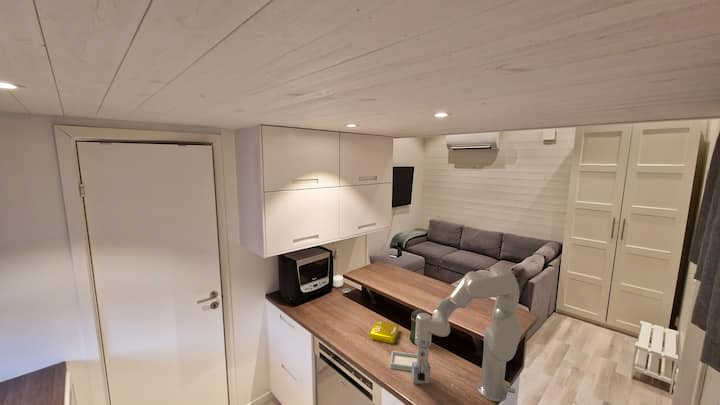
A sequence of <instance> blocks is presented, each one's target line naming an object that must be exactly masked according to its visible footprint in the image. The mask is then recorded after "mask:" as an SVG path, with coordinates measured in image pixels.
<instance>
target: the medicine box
mask: <svg viewBox="0 0 720 405" xmlns="http://www.w3.org/2000/svg"><path fill="white" fill-rule="evenodd" d="M420 366H421V364H420ZM420 370H421V367H420ZM418 372H419V367H418V365H417V362H412V371H411V379H412V382H413V384H430V383H431V365H430V363H429V362H428V368H425V381H420V380H418Z"/></svg>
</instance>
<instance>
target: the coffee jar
mask: <svg viewBox="0 0 720 405" xmlns="http://www.w3.org/2000/svg"><path fill="white" fill-rule="evenodd" d="M420 313H427V314H429V313H428V311H427V310H426V309H423V308H418V309H415V310H413V311H412V312H411V315H410V316H411V317H410V318H411V326H410V335H409V340H410V342H411V343H413V344H414V345H416V344H415V331H416V317H417V315H418V314H420Z"/></svg>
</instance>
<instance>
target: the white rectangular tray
mask: <svg viewBox="0 0 720 405" xmlns="http://www.w3.org/2000/svg"><path fill="white" fill-rule="evenodd" d="M389 362H390V363H389V369H393V370H394V369H395V370H401V371H408V372H412V362H417V353H410V352H403V351H397V350H391V354H390V361H389Z"/></svg>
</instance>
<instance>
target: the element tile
mask: <svg viewBox="0 0 720 405" xmlns="http://www.w3.org/2000/svg"><path fill="white" fill-rule="evenodd" d="M399 330H400V326H399V324H396V323H391V322H387V321H382V320H376V321H375V323H374V324H373V325H372V328H371V330H370V332H369V334H370V339H371V340H373V341H377V342H382V343H386V344H390V345H392V344H393V345H394V344H395V343H396V341H397V338H398V336H397V335H399V333H398V332H400V331H399Z"/></svg>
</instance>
